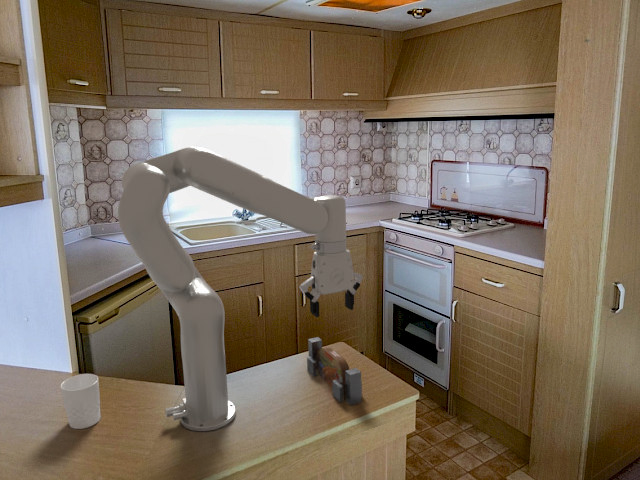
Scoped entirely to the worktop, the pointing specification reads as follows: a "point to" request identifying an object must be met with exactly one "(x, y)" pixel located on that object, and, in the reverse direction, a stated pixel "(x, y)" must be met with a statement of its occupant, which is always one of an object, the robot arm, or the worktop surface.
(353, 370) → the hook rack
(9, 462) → the worktop surface
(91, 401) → the white cup
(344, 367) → the tin
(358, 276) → the robot arm
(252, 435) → the worktop surface
